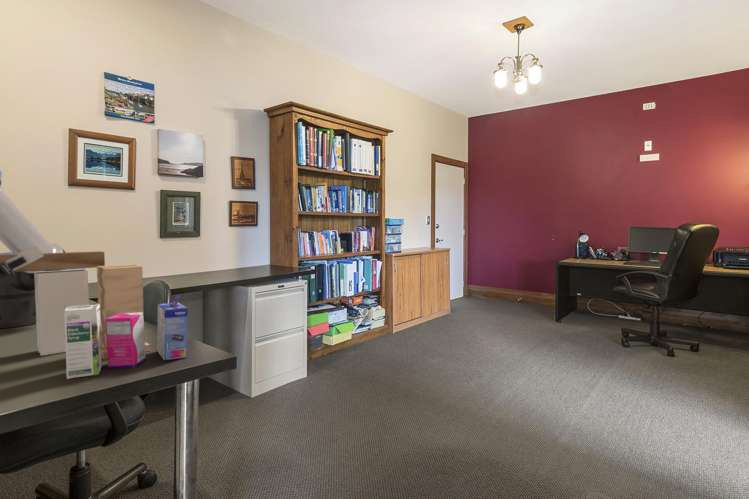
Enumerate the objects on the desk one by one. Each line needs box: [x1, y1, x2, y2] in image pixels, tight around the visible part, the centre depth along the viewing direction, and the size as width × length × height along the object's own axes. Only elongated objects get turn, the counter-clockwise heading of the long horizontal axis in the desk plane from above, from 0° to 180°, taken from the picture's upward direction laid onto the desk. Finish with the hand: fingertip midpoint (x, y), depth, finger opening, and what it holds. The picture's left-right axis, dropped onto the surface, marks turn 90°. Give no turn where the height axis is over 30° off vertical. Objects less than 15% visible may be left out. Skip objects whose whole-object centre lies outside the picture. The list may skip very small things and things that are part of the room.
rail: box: [0, 250, 106, 272], centre depth 102 cm, size 4×22×4 cm, turn 136°
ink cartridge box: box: [156, 294, 189, 361], centre depth 100 cm, size 10×6×14 cm, turn 37°
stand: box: [96, 263, 151, 361], centre depth 103 cm, size 10×10×22 cm
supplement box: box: [105, 312, 147, 369], centre depth 93 cm, size 6×6×12 cm
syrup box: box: [64, 303, 103, 380], centre depth 87 cm, size 6×6×14 cm
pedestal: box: [34, 269, 90, 357], centre depth 104 cm, size 6×10×20 cm, turn 136°
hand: (38, 251), depth 100 cm, fingers closed on rail, 4 cm apart
